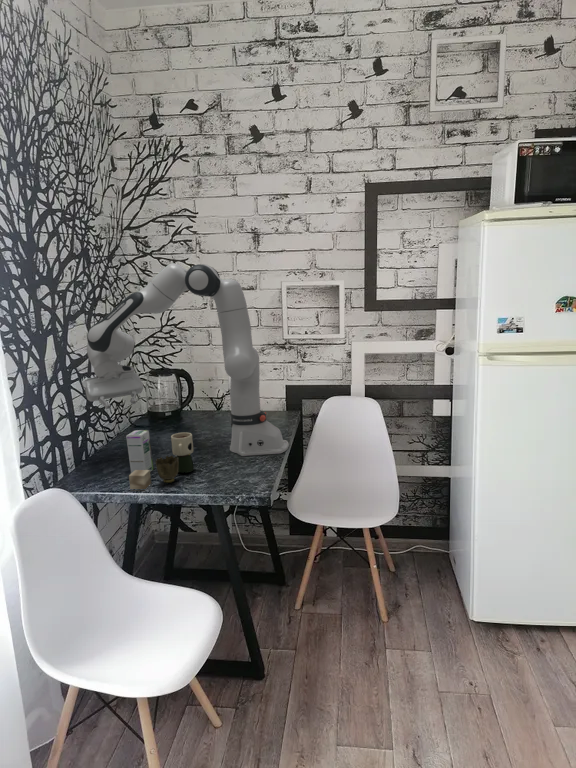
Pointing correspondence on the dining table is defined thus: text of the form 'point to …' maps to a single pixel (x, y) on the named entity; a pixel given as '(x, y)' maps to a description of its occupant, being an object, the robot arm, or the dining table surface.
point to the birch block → (140, 479)
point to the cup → (167, 468)
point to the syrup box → (139, 450)
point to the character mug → (183, 450)
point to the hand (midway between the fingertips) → (121, 405)
